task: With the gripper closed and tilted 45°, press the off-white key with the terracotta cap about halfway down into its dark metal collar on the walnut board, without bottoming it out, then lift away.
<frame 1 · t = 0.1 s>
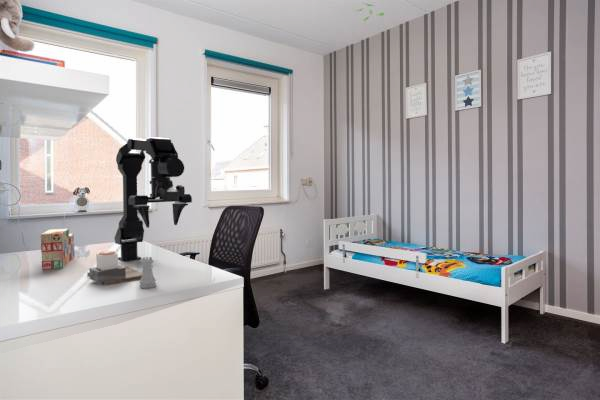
hand: (162, 226, 123), 15 cm above the table, tool pointing down, fingers open, 9 cm apart
rook chess piece: (147, 287, 106), on the table
key cap: (107, 260, 111), point 6 cm above the table, slide at 0.0 cm
key console: (107, 281, 111), on the table
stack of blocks: (59, 263, 138), on the table
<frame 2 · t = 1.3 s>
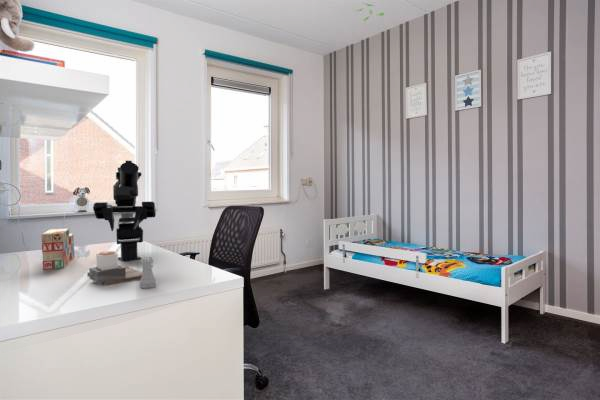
hand: (122, 229, 124), 14 cm above the table, tool tilted 45°, fingers open, 6 cm apart
nothing on the table moved.
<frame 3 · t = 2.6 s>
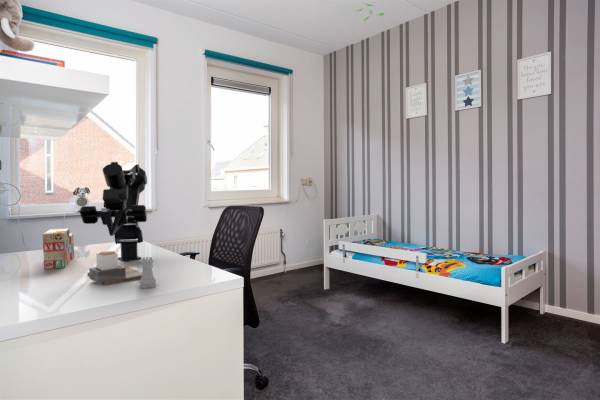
hand: (111, 234, 117), 13 cm above the table, tool tilted 45°, fingers closed
nothing on the table moved.
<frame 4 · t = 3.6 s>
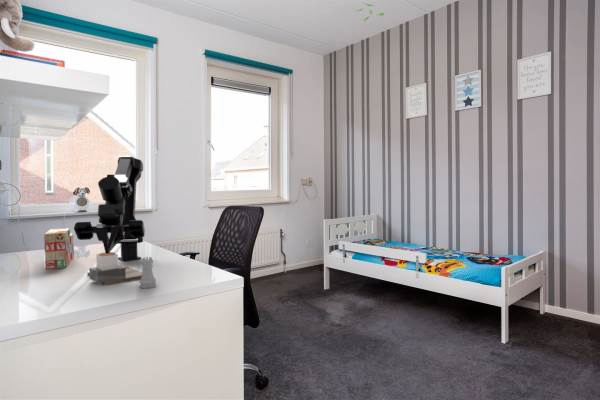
hand: (106, 252, 111), 9 cm above the table, tool tilted 45°, fingers closed, pressing on key cap
key cap: (107, 261, 111), point 6 cm above the table, slide at 0.3 cm, touching gripper
everything else where it was.
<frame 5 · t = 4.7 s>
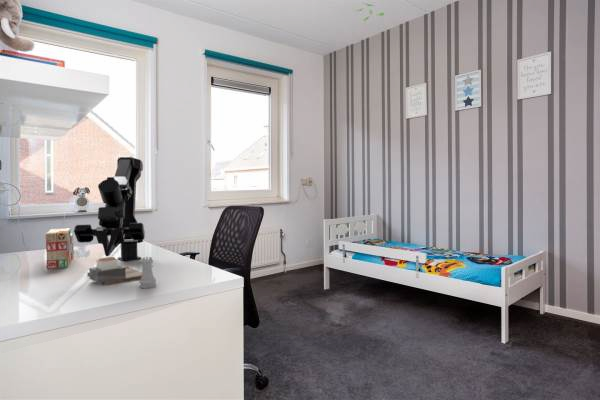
hand: (106, 255, 111), 8 cm above the table, tool tilted 45°, fingers closed
key cap: (107, 266, 111), point 5 cm above the table, slide at 1.7 cm
everything else where it was.
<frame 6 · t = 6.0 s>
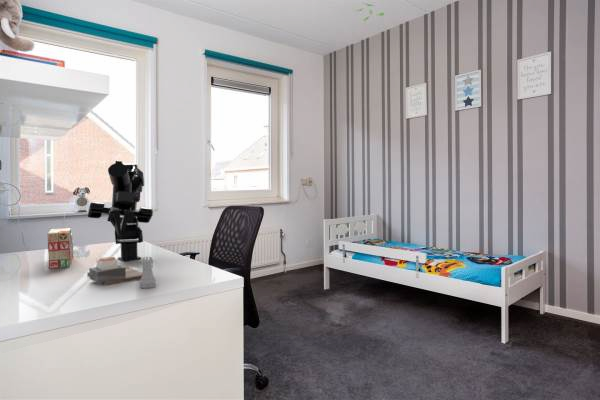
hand: (120, 235, 122), 12 cm above the table, tool tilted 35°, fingers closed
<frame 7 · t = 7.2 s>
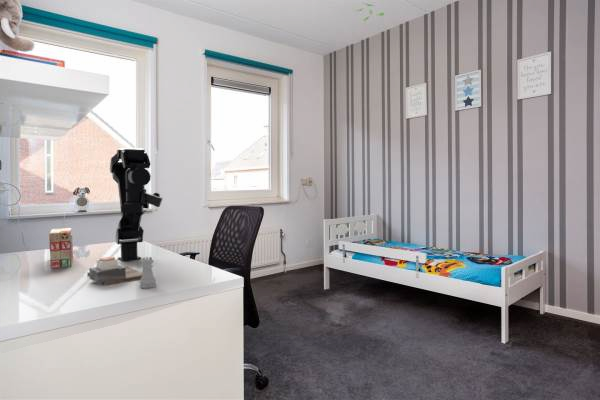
hand: (136, 231, 130), 12 cm above the table, tool pointing down, fingers closed
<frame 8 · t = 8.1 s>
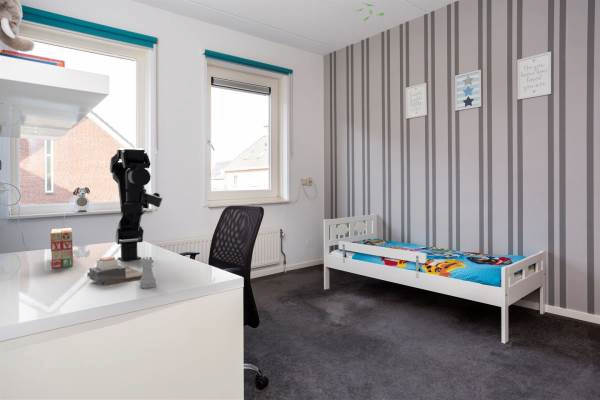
hand: (136, 231, 130), 12 cm above the table, tool pointing down, fingers closed
at the end: key cap slide at 1.7 cm; rook chess piece moved 0.2 cm from its start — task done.
